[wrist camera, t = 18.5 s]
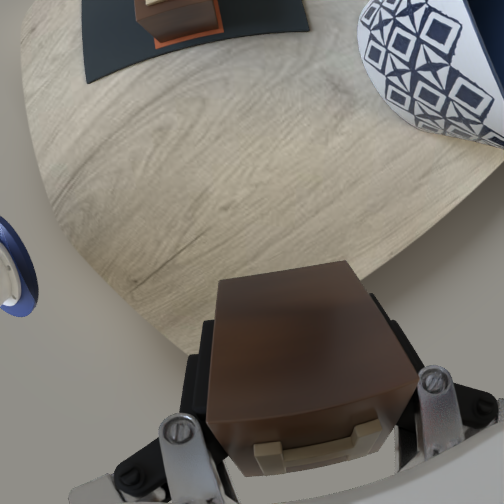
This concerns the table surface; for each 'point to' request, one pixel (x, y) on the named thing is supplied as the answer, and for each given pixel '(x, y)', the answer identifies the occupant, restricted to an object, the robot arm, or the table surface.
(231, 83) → the table surface
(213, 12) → the block
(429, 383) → the robot arm
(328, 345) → the block
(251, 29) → the word mat
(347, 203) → the table surface
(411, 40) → the planter
